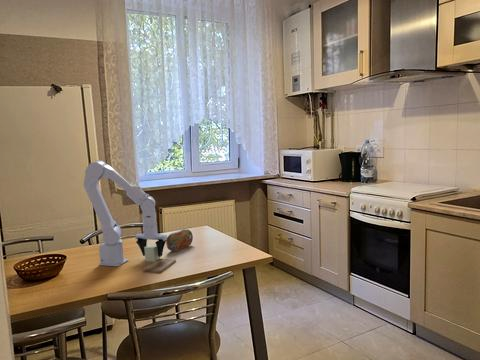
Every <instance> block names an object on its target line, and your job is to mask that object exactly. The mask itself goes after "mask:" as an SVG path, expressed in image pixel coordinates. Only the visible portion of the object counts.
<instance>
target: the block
mask: <svg viewBox="0 0 480 360" xmlns="http://www.w3.org/2000/svg"><path fill="white" fill-rule="evenodd" d="M144 250H145V256H144V259H145V260H144V261H145V262H151V263H153V262H155V261H156V260H158V259H161V257H158V250H157V246H156V243H155V244H153V243H150V244H147V246H146V247H144Z"/></svg>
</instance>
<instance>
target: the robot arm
mask: <svg viewBox="0 0 480 360" xmlns="http://www.w3.org/2000/svg"><path fill="white" fill-rule="evenodd" d="M101 178H103V179H108V180H111V181H113V183H115V184H117V185H118V186H119V187H120V188H121V189H123V190H125V195H126V196H127V197H128V198H129V199H131V200H132V201H133V202H134V203H135V204H136V205H139V206H140V209H141V211H142V212H141V213H142V214H141V217H142V226H143V227H142V229H143V233H136V234H135V235H134V237H135V243H136V244H137V246H138V247H139V249H140V252H141V254H142V256H143V257H145V250H144V247H146V246H148V244H147V243H148V240H154V241H155V245H156V246H157V250H158V257H160V258H161V257H162V256H163V253H164V249H165V248H164V247H165V246H166V245H165V244H166V240H167V237H168V235H166V234H161V233H158V222H157V214H156V208H155V207H156V199H154V197H153V196H150V194H149V193H146V192H145V191H144V190H143V189H142V187H141V186H140V185H138V186H137V184H131V183H130V182H128V181H127V180H126V179H125V178H124V177H123V176H122V175H121V173H119V172H118V171H116V170H115V169H114V168H113V167H112V166H111V165H109V164H107V163H106V162H105V161H104V160H101V159H99V160H96V161H93V162H90V163H89V164H88V166H87V167H86V168H85V170H84V180H83V187H84V190H85V192H86V194H87V196H88V198H89V201H90V203H91V206H92V207H93V209H94V211H95V215H96V216H97V218H98V221H99V222H100V226H101V232H102V240H103V242H101V243H100V245H99V247H98V253H99V264H98V265H99V266H105V267H107V266H108V267H120V266H121V265H123V264H124V263H126V262H128V261H129V259H128V258H125V254H124V247H123V246H124V245H123V239H122V238H121V236H122V234H123V231H122V228H121V226H119V225H118V224H117V221H116V220H114V219H113V216H112V214H111V212H110V210H109V207H108V205H107V203H106V201H105V199H104V196H103V194H102V192H101V190H100V187H99V185H98V184H99V182H100V180H101Z"/></svg>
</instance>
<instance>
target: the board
mask: <svg viewBox="0 0 480 360" xmlns="http://www.w3.org/2000/svg"><path fill="white" fill-rule="evenodd" d="M176 260H177V259H176V258H175V259H174V258H173V259H172V258H160V259H158V260H156V261H155V262H151V263H150V264H149V265H147V266H145V267H143V269H142V272H143V273H151V274H152V273H154V274H162V273H163V272H164V271H165V270H167V269H169V267H171V266H173V265H174V264H175V263H176V262H177V261H176Z"/></svg>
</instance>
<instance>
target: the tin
mask: <svg viewBox="0 0 480 360" xmlns="http://www.w3.org/2000/svg"><path fill="white" fill-rule="evenodd" d="M193 238H194V236H193V233H192V231H191V230H190V229H180V230H178V231H176V232H172V233H169V235H167V240H166V243H165V244H166V245H165V246H166V248H167V250H169V251H171V252H179V251H182V250H183V249H186V248H189V247H190V246H191V245H192V243H193Z"/></svg>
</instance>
